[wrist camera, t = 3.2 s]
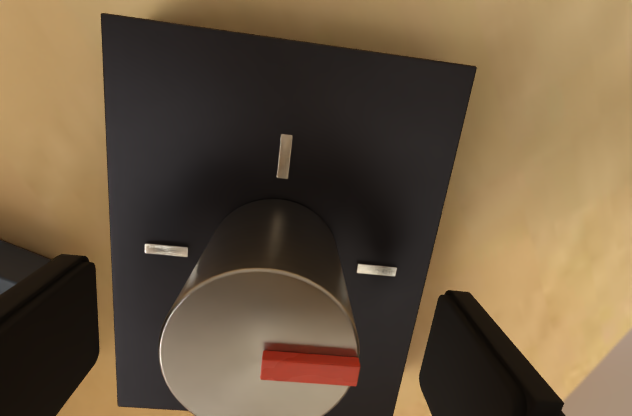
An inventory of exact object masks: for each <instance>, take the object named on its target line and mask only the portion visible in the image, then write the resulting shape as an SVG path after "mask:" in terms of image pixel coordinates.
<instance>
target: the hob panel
mask: <svg viewBox="0 0 632 416" xmlns="http://www.w3.org/2000/svg"><path fill="white" fill-rule="evenodd" d="M101 30H102V53H103V76H104V99H105V123H106V146H107V169H108V192H109V215H110V238H111V262H112V285H113V308H114V331H115V354H116V377H117V401H118V406H119V407H135V408H151V409H167V410H183V411H188V410H187V409H186V408H185V407H184V406H183V405H182V404H181V403H180V402H179V401H178V400H177V399H176V398H175V396H174V395H173V394H172V392H171V391H170V389H169V387H168V386H167V384H166V382H165V380H164V377H163V375H162V372H161V368H160V363H159V354H158V345H159V337H160V333H161V329H162V326H163V323H164V321H165V319H166V316H167V315H168V313H169V311H170V309H171V308H172V306H173V304H174V303H175V301H176V299H177V297H178V296H179V294H180V292H181V290H182V289H183V287H184V285H185V283H186V282H187V280H188V278H189V276H190V275H191V273H192V271H193V269H194V268H195V266H196V264H197V262H198V261H199V259H200V257H201V255H202V254H203V252H204V250H205V248H206V247H207V245H208V243H209V241H210V240H211V238H212V236H213V235H214V233H215V231H216V229H217V228H218V226H219V225H220V223H221V222H222V221H223V220H224V219H225V218H226V217H227V216H228V215H229V214H230V213H231V212H233V211H234V210H236V209H237V208H239V207H241V206H243V205H245V204H248V203H251V202H254V201H258V200H264V199H281V200H287V201H291V202H295V203H298V204H300V205H302V206H304V207H306V208H308V209H310V210H311V211H313V212H314V213H315V214H317V215H318V216H319V217H320V218H321V219H322V220H323V221H324V222H325V223H326V225H327V226H328V228H329V229H330V231H331V233H332V235H333V237H334V239H335V242H336V246H337V250H338V254H339V258H340V263H341V267H342V271H343V275H344V280H345V284H346V288H347V292H348V296H349V301H350V305H351V309H352V313H353V318H354V322H355V326H356V330H357V335H358V340H359V352H360V354H359V362H360V366H361V367H360V372H359V377H358V382H357V386H350V388H349V389H348V391H347V393H346V394H345V396H344V397H343V398H342V399H341V400H340V402H339V403H338V404H337V405H336V406H335V407H334V408H333V409H332V410H330V411H329V412H328V413H327V414H325V415H324V416H393V413H394V409H395V405H396V401H397V396H398V392H399V388H400V384H401V380H402V376H403V372H404V367H405V363H406V359H407V355H408V351H409V347H410V343H411V338H412V334H413V330H414V326H415V322H416V318H417V314H418V309H419V305H420V301H421V297H422V293H423V289H424V285H425V280H426V276H427V272H428V268H429V264H430V260H431V256H432V251H433V247H434V243H435V239H436V235H437V231H438V227H439V222H440V218H441V214H442V210H443V206H444V202H445V198H446V193H447V189H448V185H449V181H450V177H451V173H452V169H453V164H454V160H455V156H456V152H457V148H458V144H459V140H460V135H461V131H462V127H463V123H464V119H465V115H466V111H467V106H468V102H469V98H470V94H471V90H472V86H473V82H474V77H475V73H476V69H477V67H476V66H471V65H464V64H457V63H450V62H443V61H436V60H429V59H422V58H415V57H408V56H401V55H394V54H387V53H380V52H373V51H366V50H359V49H352V48H345V47H338V46H331V45H324V44H317V43H310V42H303V41H296V40H289V39H282V38H275V37H268V36H261V35H254V34H247V33H240V32H233V31H226V30H219V29H212V28H205V27H198V26H191V25H184V24H177V23H170V22H163V21H156V20H149V19H142V18H135V17H128V16H121V15H114V14H107V13H101Z"/></svg>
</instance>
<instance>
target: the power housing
mask: <svg viewBox="0 0 632 416" xmlns="http://www.w3.org/2000/svg"><path fill="white" fill-rule="evenodd" d="M50 261H51V259H48V258H45V257H43V256H40V255H38V254H35V253H33V252H30V251H28V250H25V249H23V248H20V247H17V246H15V245H12V244H10V243H7V242H5V241H2V240H0V295H1V294H2V293H4V292H5V291H7V290H8V289H10V288H11V287H13V286H14V285H16V284H17V283H18V282H20V281H21V280H23V279H24V278H26V277H27V276H29V275H30V274H32V273H33V272H35V271H36V270H38V269H39V268H41V267H42V266H44V265H45V264H47V263H48V262H50Z"/></svg>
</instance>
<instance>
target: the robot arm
mask: <svg viewBox="0 0 632 416" xmlns="http://www.w3.org/2000/svg"><path fill="white" fill-rule="evenodd" d="M98 355H99V329H98V309H97V288H96V268H95V265H94V263H93V262H89V259H88V258H87V257H86V256H78V255H67V254H61V255H58V256H57V257H55V258H54V259H53V260H51V261H50V262H48V263H47V264H45V265H44V266H42V267H41V268H39V269H38V270H36V271H35V272H33V273H32V274H30V275H29V276H27V277H26V278H24V279H23V280H21V281H20V282H18V283H17V284H16V285H14V286H13V287H11V288H10V289H8V290H7V291H5V292H4V293H2V294H1V295H0V416H56V415H57V413H58V412H59V411H60V409H61V408H62V407H63V405H64V404H65V403H66V401H67V400H68V399H69V397H70V396H71V395H72V393H73V392H74V391H75V390H76V388H77V387H78V386H79V384H80V383H81V382H82V380H83V379H84V378H85V376H86V375H87V374H88V372H89V371H90V370H91V368H92V367H93V366H94V364H95V363H96V361H97V358H98ZM419 382H420V387H421V390H422V392H423V395H424V397H425V400H426V402H427V404H428V407H429V409H430V412H431V414H432V416H565V415H564V413H563V412H562V411H561V410H562V407H563V405H564V402H563V401H562V400H561V399H560V398H559V397H558V395H557V394H556V393H555V392H554V391H553V389H552V388H551V387H550V386H549V385H548V384H547V382H546V381H545V380H544V379H543V378H542V377H541V375H540V374H539V373H538V372H537V371H536V370H535V368H534V367H533V366H532V365H531V364H530V363H529V361H528V360H527V359H526V358H525V357H524V355H523V354H522V353H521V352H520V351H519V350H518V348H517V347H516V346H515V345H514V344H513V343H512V341H511V340H510V339H509V338H508V337H507V336H506V334H505V333H504V332H503V331H502V330H501V329H500V327H499V326H498V325H497V324H496V323H495V322H494V320H493V319H492V318H491V317H490V316H489V314H488V313H487V312H486V311H485V310H484V309H483V307H482V306H481V305H480V304H479V303H478V302H477V300H476V299H475V298H474V297H473V296H472V295H471V294H470V293H469V292H462V291H451V290H448V291H446V293H445V295H440V296H439V298H438V301H437V305H436V309H435V313H434V317H433V321H432V325H431V330H430V334H429V338H428V342H427V346H426V350H425V354H424V358H423V362H422V366H421V370H420V375H419Z"/></svg>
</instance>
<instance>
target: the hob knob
mask: <svg viewBox="0 0 632 416" xmlns="http://www.w3.org/2000/svg"><path fill="white" fill-rule="evenodd" d="M158 354H159V363H160V368H161V372H162V375H163V377H164V380H165V382H166V384H167V386H168V387H169V389H170V391H171V392H172V394H173V395H174V396H175V398H176V399H177V400H178V401H179V402H180V403H181V404H182V405H183V406H184V407H185V408H186V409H187V410H188V411H190V412H191V413H192V414H194V415H195V416H324V415H325V414H327V413H328V412H329V411H330V410H332V409H333V408H334V407H335V406H336V405H337V404H338V403H339V402H340V400H341V399H342V398H343V397H344V396H345V394H346V393H347V391H348V389H349V388H350V386H357V382H358V377H359V372H360V367H361V366H360V362H359V354H360V352H359V340H358V335H357V330H356V326H355V322H354V318H353V313H352V309H351V305H350V301H349V296H348V292H347V288H346V284H345V280H344V275H343V271H342V267H341V263H340V258H339V254H338V250H337V246H336V242H335V239H334V237H333V235H332V233H331V231H330V229H329V228H328V226H327V225H326V223H325V222H324V221H323V220H322V219H321V218H320V217H319V216H318V215H317V214H315V213H314V212H313V211H311V210H310V209H308V208H306V207H304V206H302V205H300V204H298V203H295V202H291V201H287V200H281V199H264V200H258V201H254V202H251V203H248V204H245V205H243V206H241V207H239V208H237V209H236V210H234V211H233V212H231V213H230V214H229V215H228V216H227V217H226V218H225V219H224V220H223V221H222V222H221V223H220V225H219V226H218V228H217V229H216V231H215V233H214V235H213V236H212V238H211V240H210V241H209V243H208V245H207V247H206V248H205V250H204V252H203V254H202V255H201V257H200V259H199V261H198V262H197V264H196V266H195V268H194V269H193V271H192V273H191V275H190V276H189V278H188V280H187V282H186V283H185V285H184V287H183V289H182V290H181V292H180V294H179V296H178V297H177V299H176V301H175V303H174V304H173V306H172V308H171V309H170V311H169V313H168V315H167V316H166V319H165V321H164V323H163V326H162V329H161V333H160V337H159V345H158Z"/></svg>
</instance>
